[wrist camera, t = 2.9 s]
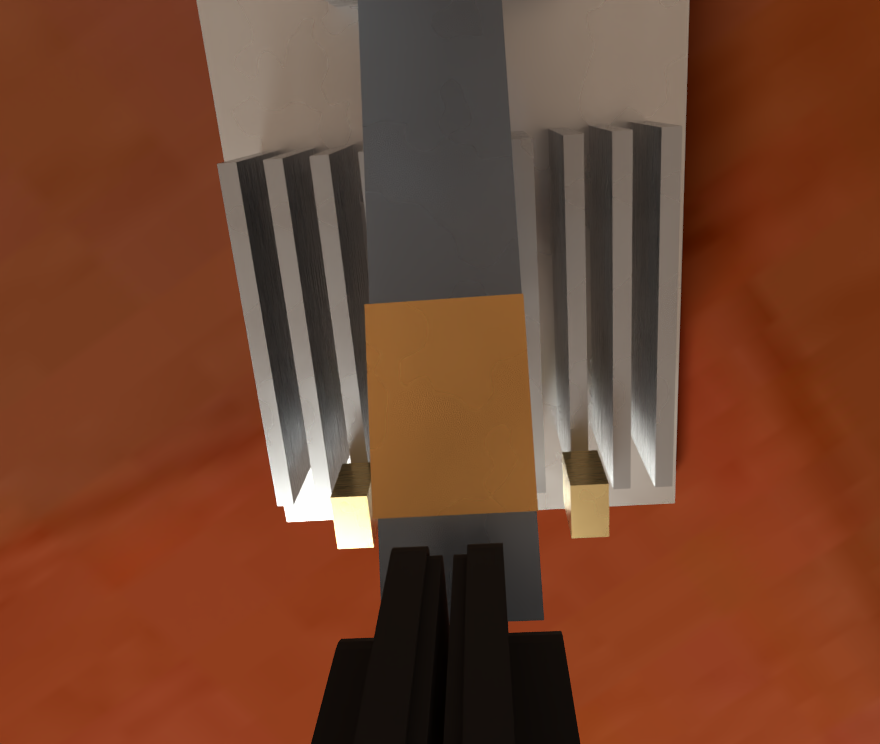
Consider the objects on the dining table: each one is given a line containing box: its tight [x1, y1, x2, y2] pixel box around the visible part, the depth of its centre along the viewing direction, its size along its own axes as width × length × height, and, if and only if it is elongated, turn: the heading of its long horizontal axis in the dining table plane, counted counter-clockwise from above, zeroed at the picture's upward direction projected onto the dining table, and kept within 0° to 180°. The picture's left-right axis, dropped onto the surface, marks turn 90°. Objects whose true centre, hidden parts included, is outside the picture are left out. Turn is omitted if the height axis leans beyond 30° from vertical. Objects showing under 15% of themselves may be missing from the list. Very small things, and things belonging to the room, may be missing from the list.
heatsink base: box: [197, 0, 689, 549], centre depth 21 cm, size 20×14×7 cm
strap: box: [358, 0, 544, 624], centre depth 16 cm, size 16×3×2 cm, turn 5°
